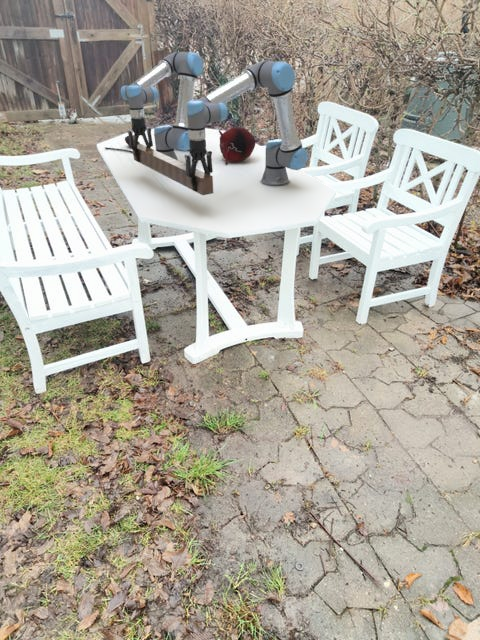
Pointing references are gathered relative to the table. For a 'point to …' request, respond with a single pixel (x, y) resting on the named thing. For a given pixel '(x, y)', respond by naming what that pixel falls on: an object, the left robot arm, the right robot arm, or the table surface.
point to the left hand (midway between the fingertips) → (143, 160)
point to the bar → (174, 169)
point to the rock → (128, 140)
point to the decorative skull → (236, 144)
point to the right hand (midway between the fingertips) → (200, 189)
